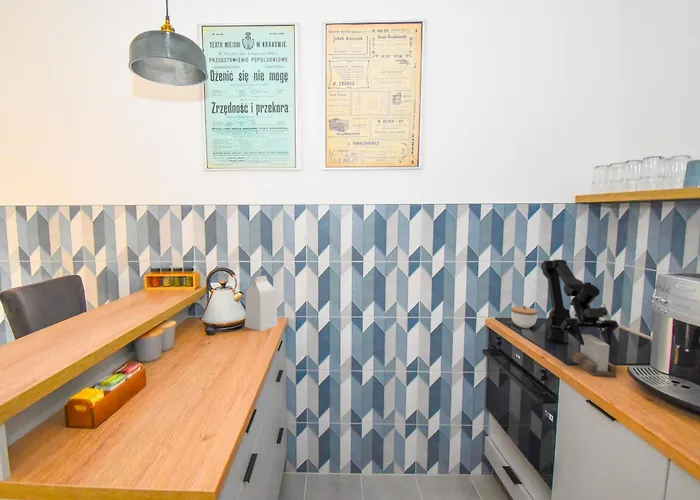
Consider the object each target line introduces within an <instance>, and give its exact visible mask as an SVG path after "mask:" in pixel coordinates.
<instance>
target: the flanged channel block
mask: <svg viewBox="0 0 700 500" xmlns="http://www.w3.org/2000/svg"><path fill="white" fill-rule="evenodd" d="M571 360H572V361H573V362H575V364H577V365H578V366H580V367H581V368H582V369H583V370H585V371H586V372H587V373H588V374H590V375H591V376H593V377H605V378H607V377H609V378H617V373H616V372H617V366H615V365H614V364H612V363H611V362H610V361H608V370H607V372H602V371H597V365H595V364H594V363H593V362H591V361H590V360H588V359H587V358H586V357H584V356H583V355H581V354H580V352H578V351H577V350H573V351H572V356H571Z"/></svg>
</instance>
